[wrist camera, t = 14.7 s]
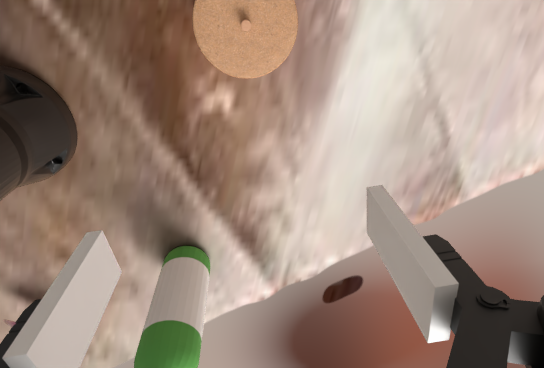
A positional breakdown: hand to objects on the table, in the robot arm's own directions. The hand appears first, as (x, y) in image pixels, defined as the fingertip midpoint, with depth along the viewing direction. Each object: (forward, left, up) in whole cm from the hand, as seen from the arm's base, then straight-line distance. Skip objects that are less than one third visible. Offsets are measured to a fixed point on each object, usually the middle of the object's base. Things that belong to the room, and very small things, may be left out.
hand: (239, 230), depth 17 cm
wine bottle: (-14, -27, -32) cm, 44 cm away
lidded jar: (+2, +8, -32) cm, 33 cm away
